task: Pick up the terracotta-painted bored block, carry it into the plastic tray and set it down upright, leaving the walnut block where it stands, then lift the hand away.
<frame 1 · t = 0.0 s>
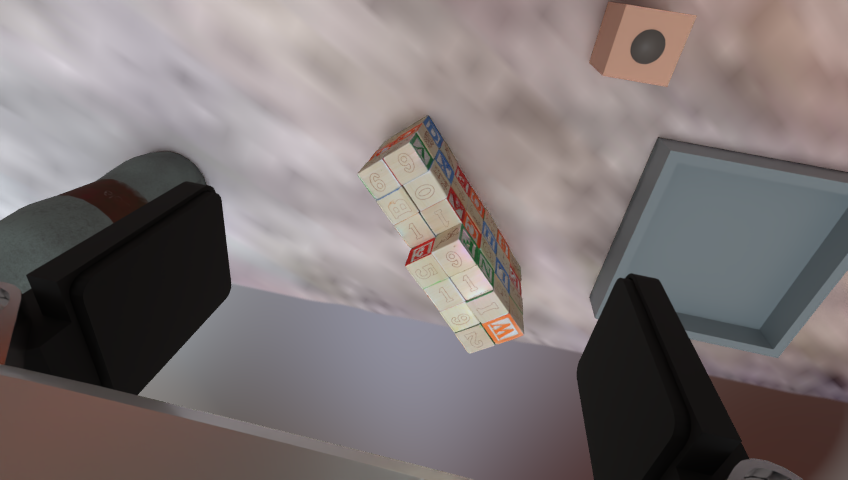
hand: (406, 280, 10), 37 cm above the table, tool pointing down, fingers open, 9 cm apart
terracotta block: (626, 37, 39), on the table
bottle: (178, 180, 55), on the table
tray: (713, 244, 47), on the table
stack of blocks: (455, 207, 50), on the table
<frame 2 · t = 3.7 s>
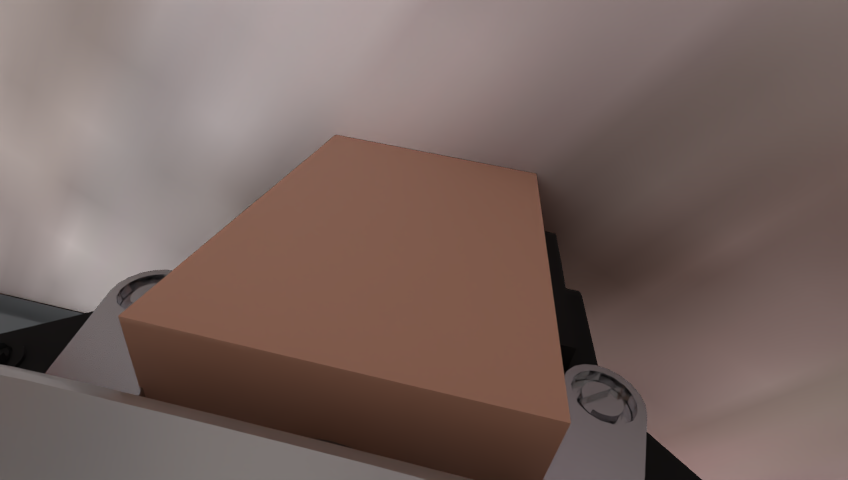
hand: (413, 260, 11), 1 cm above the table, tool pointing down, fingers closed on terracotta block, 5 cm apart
terracotta block: (420, 240, 12), on the table, touching gripper
tray: (23, 439, 21), on the table
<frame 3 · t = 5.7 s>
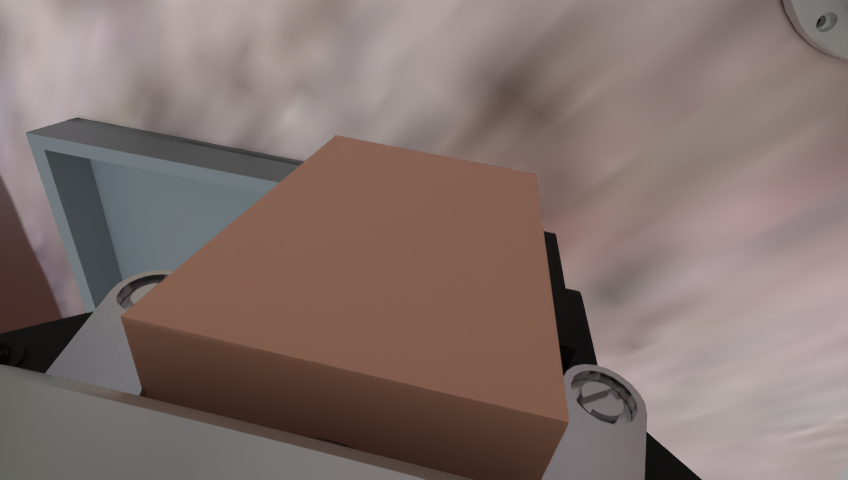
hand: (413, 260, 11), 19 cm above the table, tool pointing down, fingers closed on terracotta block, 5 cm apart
terracotta block: (420, 240, 12), point 18 cm above the table, touching gripper
tray: (217, 256, 37), on the table
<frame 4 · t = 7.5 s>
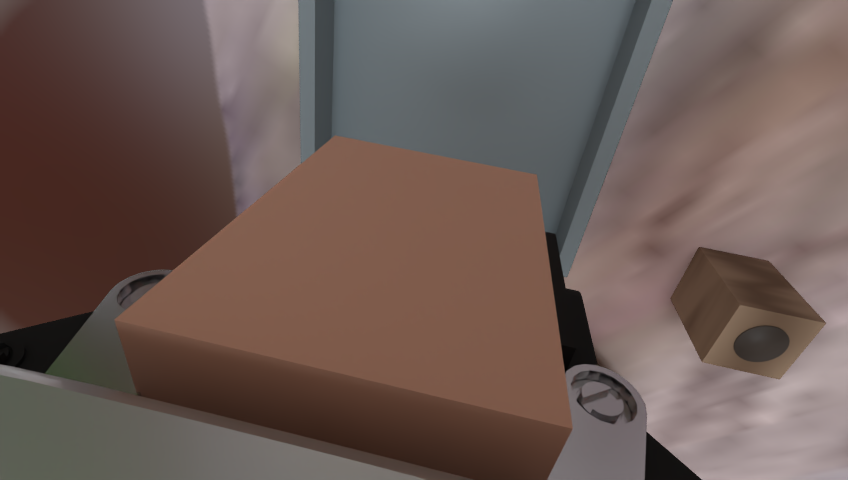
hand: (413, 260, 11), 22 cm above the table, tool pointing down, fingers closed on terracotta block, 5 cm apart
terracotta block: (420, 241, 12), point 21 cm above the table, touching gripper
walnut block: (717, 280, 34), on the table
tray: (460, 98, 30), on the table
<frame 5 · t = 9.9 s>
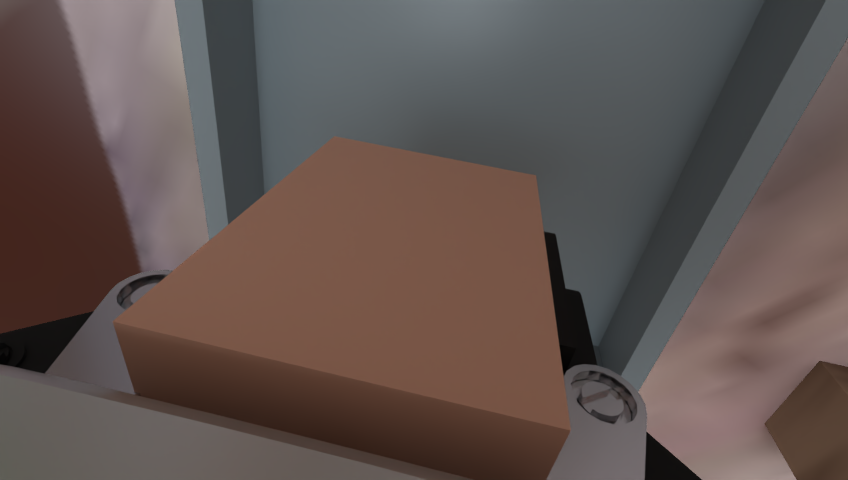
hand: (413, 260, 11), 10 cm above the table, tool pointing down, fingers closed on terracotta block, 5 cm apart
terracotta block: (419, 242, 12), point 9 cm above the table, touching gripper
walnut block: (840, 405, 23), on the table
tray: (460, 141, 19), on the table
when the fingers open (3 cm above the table, at t = 11.6 s): terracotta block drops 2 cm, resting on tray.
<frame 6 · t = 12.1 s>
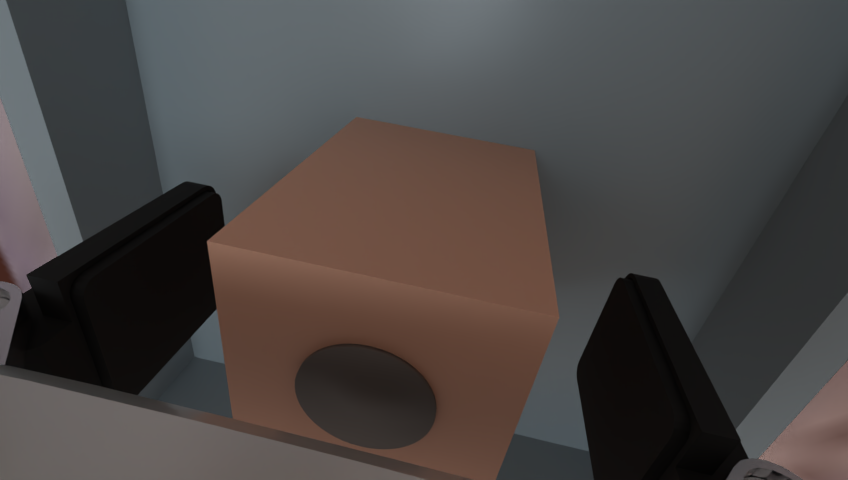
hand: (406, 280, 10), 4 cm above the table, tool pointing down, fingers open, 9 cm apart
terracotta block: (431, 213, 13), point 1 cm above the table, touching tray
tray: (433, 203, 14), on the table
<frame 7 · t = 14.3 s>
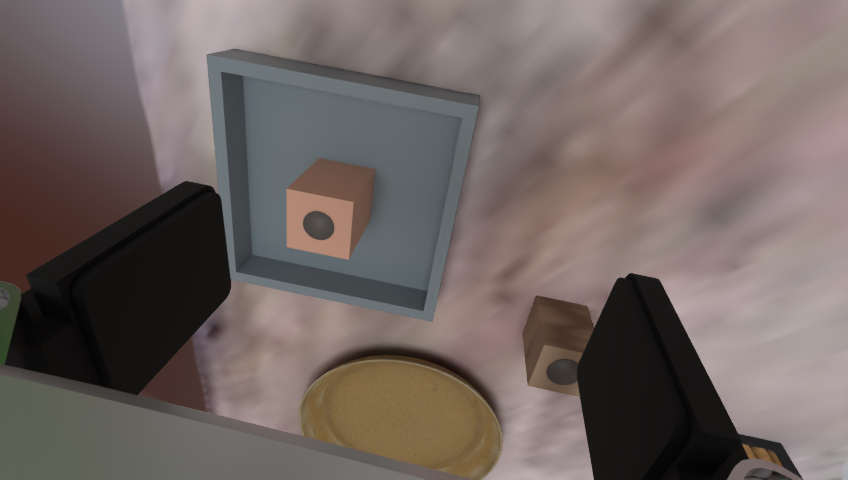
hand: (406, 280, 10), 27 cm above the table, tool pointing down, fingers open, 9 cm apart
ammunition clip: (727, 436, 49), on the table
plant saucer: (403, 412, 54), on the table
terracotta block: (345, 189, 39), point 1 cm above the table, touching tray
walnut block: (553, 320, 44), on the table
tray: (347, 187, 39), on the table
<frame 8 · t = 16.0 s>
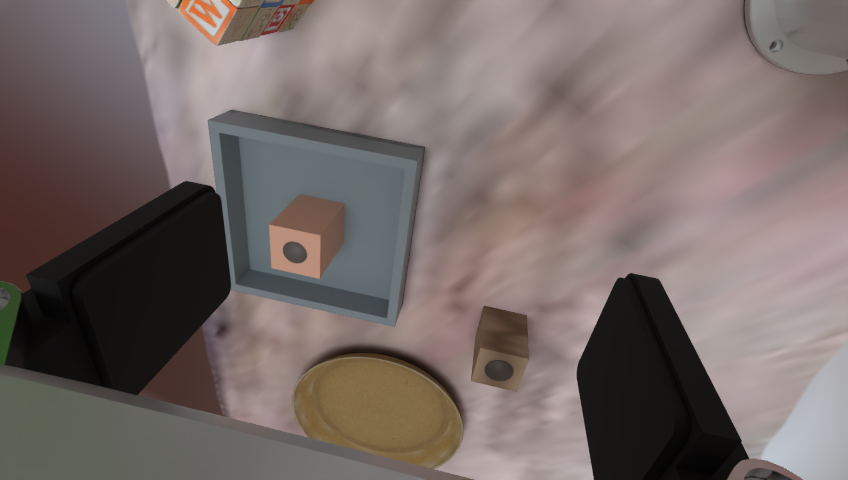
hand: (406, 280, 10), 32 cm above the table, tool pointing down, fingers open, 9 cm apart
plant saucer: (381, 402, 63), on the table
terracotta block: (322, 219, 47), point 1 cm above the table, touching tray
walnut block: (500, 326, 52), on the table
tray: (324, 216, 48), on the table
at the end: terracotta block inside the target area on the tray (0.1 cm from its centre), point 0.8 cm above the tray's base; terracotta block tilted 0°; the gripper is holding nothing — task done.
